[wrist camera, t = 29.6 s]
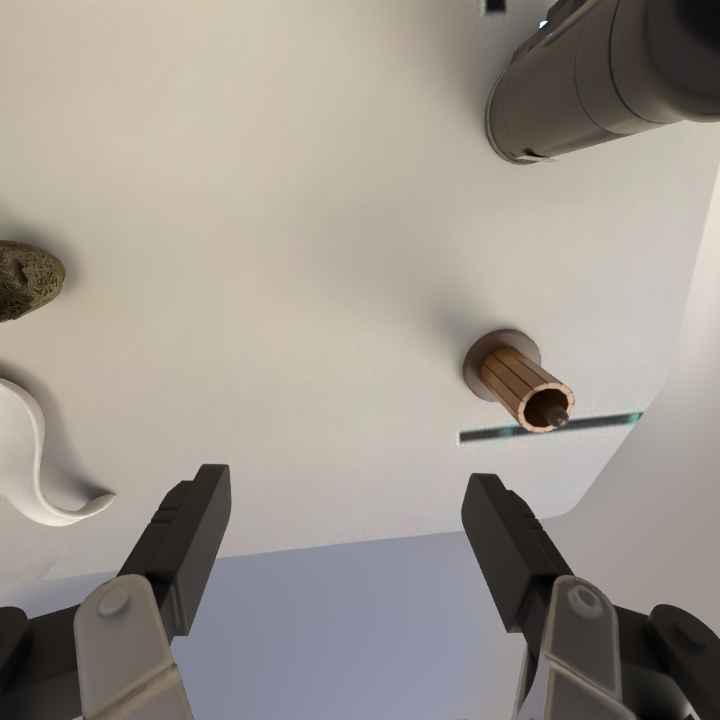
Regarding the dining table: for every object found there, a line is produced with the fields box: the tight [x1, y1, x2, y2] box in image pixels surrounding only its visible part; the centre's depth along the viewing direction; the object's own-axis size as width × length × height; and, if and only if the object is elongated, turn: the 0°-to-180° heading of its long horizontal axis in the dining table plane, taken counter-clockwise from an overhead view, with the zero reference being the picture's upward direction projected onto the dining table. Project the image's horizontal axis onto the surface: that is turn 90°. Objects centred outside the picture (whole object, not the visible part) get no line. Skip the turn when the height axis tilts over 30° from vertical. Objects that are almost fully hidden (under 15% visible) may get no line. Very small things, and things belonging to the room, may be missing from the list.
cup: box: [0, 240, 66, 322], centre depth 34 cm, size 8×7×8 cm
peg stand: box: [463, 330, 569, 427], centre depth 40 cm, size 10×10×14 cm
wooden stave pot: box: [480, 348, 575, 433], centre depth 40 cm, size 6×6×10 cm
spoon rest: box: [0, 378, 115, 526], centre depth 43 cm, size 24×12×7 cm, turn 24°
